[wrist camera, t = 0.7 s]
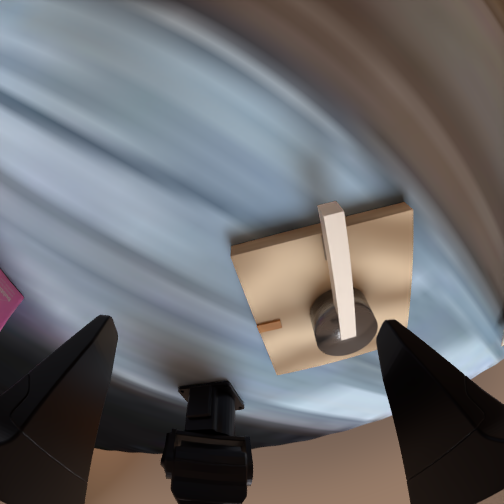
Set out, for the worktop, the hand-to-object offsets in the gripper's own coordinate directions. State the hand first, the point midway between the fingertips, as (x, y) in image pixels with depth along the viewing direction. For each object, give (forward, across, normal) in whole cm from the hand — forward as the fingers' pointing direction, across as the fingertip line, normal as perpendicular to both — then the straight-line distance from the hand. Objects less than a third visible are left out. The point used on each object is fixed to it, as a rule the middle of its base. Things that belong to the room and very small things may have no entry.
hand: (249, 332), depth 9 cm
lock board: (+13, -8, +9) cm, 18 cm away
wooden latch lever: (+11, -7, +6) cm, 14 cm away
